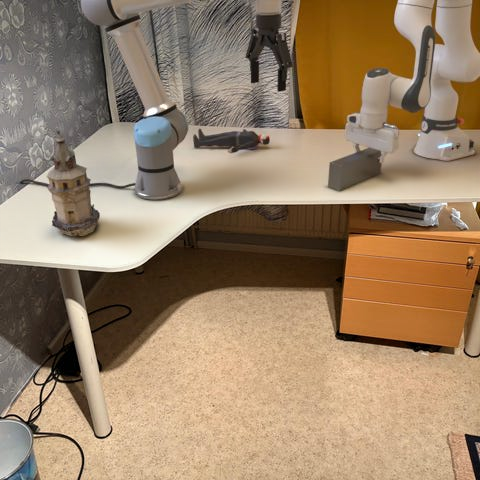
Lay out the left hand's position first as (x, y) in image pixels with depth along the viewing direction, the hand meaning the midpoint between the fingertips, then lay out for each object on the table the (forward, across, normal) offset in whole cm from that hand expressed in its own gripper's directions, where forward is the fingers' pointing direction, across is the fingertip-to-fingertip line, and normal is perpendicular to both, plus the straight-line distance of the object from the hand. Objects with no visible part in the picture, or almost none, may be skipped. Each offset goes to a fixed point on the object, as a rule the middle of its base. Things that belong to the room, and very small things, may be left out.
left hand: (267, 86), depth 167 cm
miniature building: (+32, +6, +64) cm, 72 cm away
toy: (+32, +37, -11) cm, 50 cm away
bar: (+32, -16, -26) cm, 44 cm away
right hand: (+26, -16, -32) cm, 45 cm away
